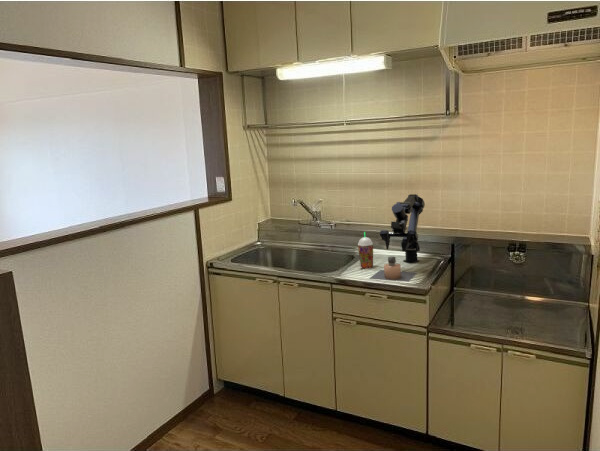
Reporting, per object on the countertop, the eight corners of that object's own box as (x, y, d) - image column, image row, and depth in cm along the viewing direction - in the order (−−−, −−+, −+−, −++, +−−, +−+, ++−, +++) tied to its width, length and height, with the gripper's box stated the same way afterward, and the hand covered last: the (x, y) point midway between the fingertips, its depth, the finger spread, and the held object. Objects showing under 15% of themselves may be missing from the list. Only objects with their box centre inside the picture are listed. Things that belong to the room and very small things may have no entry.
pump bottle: (387, 274, 228) (386, 260, 226) (403, 275, 224) (402, 260, 223) (382, 278, 221) (381, 264, 220) (398, 279, 217) (397, 265, 216)
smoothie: (357, 270, 243) (355, 233, 240) (361, 266, 251) (358, 230, 247) (373, 270, 240) (370, 233, 237) (376, 266, 248) (373, 230, 245)
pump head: (389, 264, 224) (389, 256, 223) (396, 264, 222) (396, 256, 221) (386, 267, 219) (385, 259, 218) (393, 267, 217) (392, 259, 217)
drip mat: (369, 280, 223) (368, 278, 223) (380, 271, 237) (380, 269, 237) (408, 283, 213) (408, 281, 213) (418, 273, 227) (418, 272, 226)
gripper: (379, 215, 233) (373, 240, 225) (415, 214, 223) (410, 241, 216) (385, 226, 241) (379, 252, 233) (420, 227, 232) (415, 253, 224)
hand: (395, 249), depth 226 cm, fingers open, 9 cm apart
